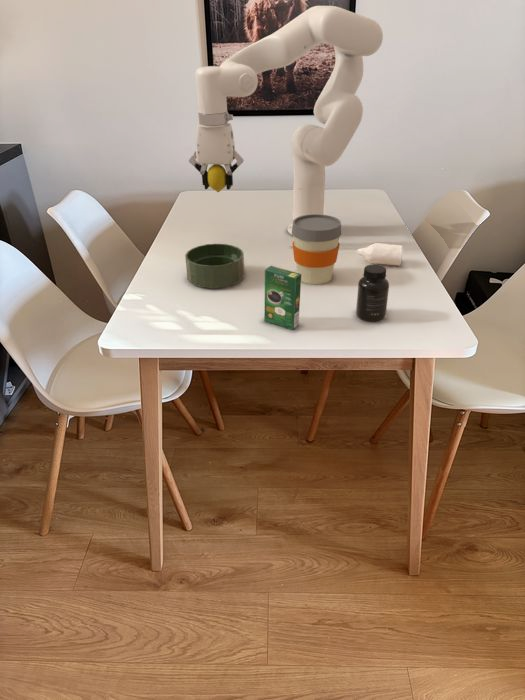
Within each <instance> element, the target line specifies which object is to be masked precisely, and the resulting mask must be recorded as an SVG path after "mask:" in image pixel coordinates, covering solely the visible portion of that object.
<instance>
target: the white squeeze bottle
mask: <svg viewBox="0 0 525 700" xmlns="http://www.w3.org/2000/svg"><path fill="white" fill-rule="evenodd" d="M356 252H357V254H358V255H359V256H360V257H362V258H363V259H365V260H366V261H367V262H368V263H370V264H376V265H388V266H399V267H400V266H401V264H402V263H401V262H402V255H403V245H401V244H400V245H399V244H392V243H391V244H389V243H381V242H375V243H373V244H370V245H367V246H366V247H361V248H358V249H357V250H356Z"/></svg>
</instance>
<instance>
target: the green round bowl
mask: <svg viewBox="0 0 525 700" xmlns="http://www.w3.org/2000/svg"><path fill="white" fill-rule="evenodd" d="M184 258H185V268H186V279H187V280H188V282H190V284H193V285H195V286H197V287H202V288H208V289H209V288H212V289H216V288H226V287H230V286H233V285H236V284H237V283H239V282H241V281H242V280H243V279H244V278H245V277H244V276H245V255H244V251H243V250H242V249H241V248H240V247H238V246H236V245H232V244H227V243H206V244H202V245H198V246H195V247H193V248H191V249H189V250H188V251H187V252H186V253H185V255H184Z"/></svg>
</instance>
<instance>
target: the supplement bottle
mask: <svg viewBox="0 0 525 700" xmlns="http://www.w3.org/2000/svg"><path fill="white" fill-rule="evenodd" d="M389 290H390V283H389V280H388V279H387V268H386V267H385V266H383V265H382V264H374V263H371V264H368V265H365V266H364V269H363V275H362V277H361V278H359V280H358V285H357V296H356V309H355V313H356V314H355V315H356V317H357V318H358V319H359V320H360V321H363V322H367V323H378V322H381V321H383V320H384V319H385V318H386V316H387V309H388V300H389Z"/></svg>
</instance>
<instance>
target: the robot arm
mask: <svg viewBox="0 0 525 700" xmlns="http://www.w3.org/2000/svg"><path fill="white" fill-rule="evenodd" d="M383 40H384V35H383V29H382V27H381V25H380V23H378V22H377V21H376V20H375V19H372V18H370V17H367V16H364V15H361V14H358V13H356V12H353V11H350V10H348V9H345V8H342V7H339V6H335V5H315V6H311V7H309V8H307V9H306V10H305V11H303V12H301V13H300V14H299V15H297V16H296V17H295V18H293V19H292V20H290V21H289V22H288V23H286V24H285V25H283V26H282V27H280V28H279V29H277V30H276V31H274V32H272V33H271V34H269V35H267V36H265V37H263V38H261V39H259V40H258V41H256V42H253V43H251V44H249V45H247V46H245V47H244V48H242V49H240V50H238V51H237V52H235V53H234V54H233V55H231V56H230V57H229V58H227V59H226V60H224V61H223V62H221V64H220V65H219V66H218V65H217V66H215V65H209V66H208V65H207V66H200V67H199V68H197V69H196V70H195V77H194V78H195V87H196V90H195V91H196V100H197V112H198V113H197V114H198V124H196V131H195V132H196V134H195V152H193V154H192V155H191V156H190V157H189V159H188V163H189V164H190V165H192V166H193V167H194V169H196V171H198V172H199V174H200V175H201V180H202V182H201V183H202V186H204V190H208V189H209V187H210V186H209V184H208V179H207V174H208V167H209V165H214V164H219V165H221V166H223V167H224V168H225V170H226V173H227V175H226V186H225V188H226V190H228V191H229V190H231V188H232V186H233V185H234V179H233V177H234V176H233V173H234V172H235V171H236V170H237V169H238V168H239V167H240V166H241V165H242V164H243V163H244V161H245V160H244V158H243V157H242V156H241V154H240V153H238V151H237V150H236V145H235V137H234V131H233V127H232V123H229V121H234V115H233V114H230V113H229V111H228V102H227V97H230V98H231V97H233V98H246V97H249V96H251V95H252V94H254V93H255V91H256V90H257V88H258V84H259V77H258V75H259V74H261V73H264V72H266V71H267V72H268V71H270V70H277V69H281V68H285V67H287V66H291V65H292V64H294V62H296V61H297V60H299V59H300V58H302V57H303V56H304V55H306V54H307V53H309V52H310V51H312V50H313V49H314V48H316V47H317V46H319V45H321V44H324V45H332V46H333V50H334V55H335V60H334V61H335V62H334V67H333V70H332V72H331V73H330V76H329V78H328V80H327V81H326V84H325V85H324V87H323V89H322V91H320V94H319V95H318V98H317V100H316V101H315V104H314V107H313V115H314V118H315V119H316V121H318V122H319V123H321V124H323V127H321V126H318V125H316V124H311V123H309V124H306V123H305V124H303V125H300V126H299V127H297V128H296V129H295V131H294V132H293V134H292V136H291V141H290V149H291V157H292V165H293V185H292V189H293V190H292V223H290V224H289V225H288V226H287V233H289V235H291V236H293V235H292V226H293V221H294V219H295V218H297V217H300V216H304V215H311V214H320V215H324V214H325V213H324V211H325V210H324V209H325V190H326V188H325V187H326V167H329V166H333V165H334V164H335V163H337V161H339V159H340V158H341V157H342V155H343V154H344V152H345V150H346V149H347V147H348V145H349V143H350V142H351V140H352V139H353V137H354V135H355V133H356V131H357V130H358V128H359V127H360V125H361V121H362V118H363V113H364V107H363V103H362V101H361V99H360V98H359V97H358V96H357V95H356V92H357V91H358V90H359V87H360V85H361V83H362V80H363V76H364V58H363V57H370V56H372V55H374V54H376V53H377V52H378V50H379V49H380V48H381V46H382V43H383ZM234 160H236V162H235V163H234V164H232V163H233V162H234Z"/></svg>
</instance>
